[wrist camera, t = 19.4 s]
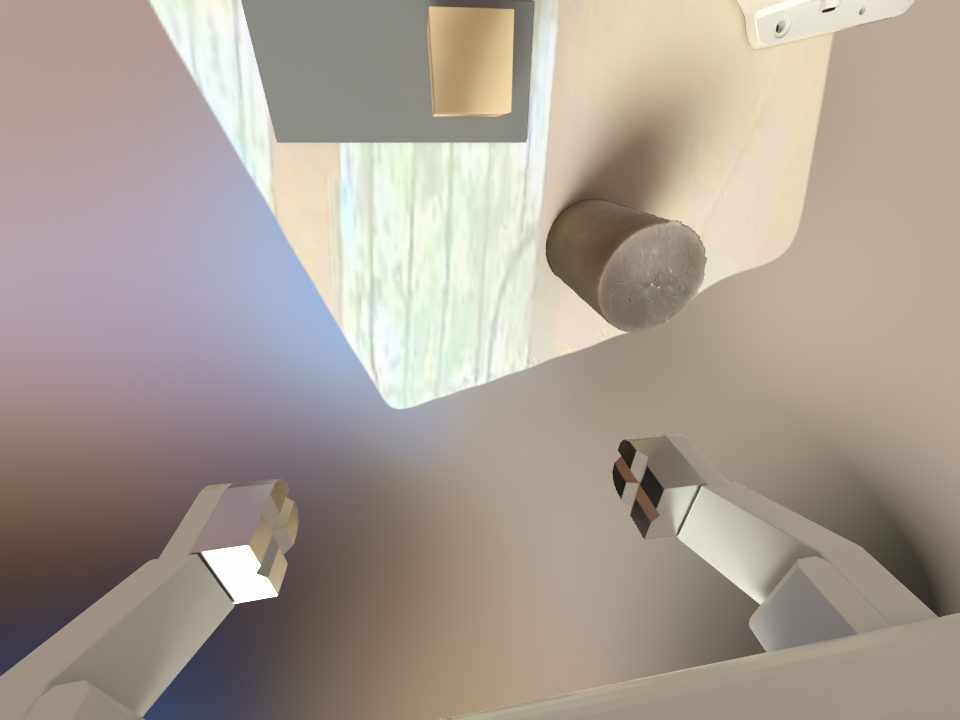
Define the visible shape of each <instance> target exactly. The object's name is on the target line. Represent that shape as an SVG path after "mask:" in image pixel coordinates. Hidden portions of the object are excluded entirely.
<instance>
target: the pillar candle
mask: <svg viewBox="0 0 960 720" xmlns="http://www.w3.org/2000/svg"><path fill="white" fill-rule="evenodd" d="M546 257H547V261H548V264H549V266H550V268H551V270H552V272H553V273H554V274H555V275H556V276H558V277H559V278H560V279H561V280H562V281H563V282H564V283H565V284H567V285H568V286H569V287H570V288H571V289H573V290H574V291H575V292H576V293H577V294H578V295H579V297H581V298H582V299H583V300H584V301H585V302H587V303H588V304H589V305H590V306H591V307H592V308H593V309H594V310H595V311H596V312H597V313H598V314H600V315H601V316H602V317H603V318H604V319H605V320H606V321H607V322H608V323H610V324H611V325H613V326H614V327H616V328H618V329H620V330H622V331H626V332H644V331H649V330H652V329H655V328H658V327H660V326H662V325H664V324H665V323H667V322H668V321H670V320H672V319H673V318H674V317H676V316H677V315H678V314H680V312H682V311H683V310H684V309H685V307H686V306H687V305H688V304H689V303H690V301H691V300H692V299H693V298H694V297H696V295H697V293H698V289H699V288H700V287H701V285H702V282H703V276H704V275H705V274H704V269H705V263H706V259H707V258H705V248H704V246H703V244H702V242H701V240H700V237H699V236H698V235H697V234H696V233H695V231H693V230H692V229H691V228H690V227H688V226H686V225H683V224H682V222H679V221H670V220H667V219H664V218H660V217H656V216H655V215H651V214H648V213H645V212H641V211H637V210H635V209H631V208H628V207H625V206H621V205H618V204H614V203H612V202H608V201H604V200H595V199H588V200H584V201H580V202H578V203H576V204H574V205H572V206H570V207H569V208H568V209H566V210H565V211H564V212H563V213H562V214H561V215H560V216H559V218H558V219H557V220H556V221H555V223H554V224H553V226H552V227H551V230H550V232H549V234H548V238H547V242H546Z"/></svg>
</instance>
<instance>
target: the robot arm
mask: <svg viewBox="0 0 960 720" xmlns="http://www.w3.org/2000/svg"><path fill="white" fill-rule="evenodd" d="M736 1H737V2H738V4H739V5H740V7H741V9H742V11H743V13H744V15H745V23H746V30H747V36H748V40H749V43H750V45H751V46H752V47H753V48H754V49H761V48H766V47H770V46H775V45H779V44H783V43H788V42H792V41H796V40H801V39H805V38H809V37H814V36H818V35H822V34H827V33H831V32H835V31H839V30H844V29H848V28H852V27H856V26H861V25H866V24H869V23H874V22H878V21H882V20H887V19H889V18H892V17H895V16H897V15H900V14H902V13H903V12H905V11H906V10H907V9H908V8H909V7H910V6H911V4H912V3H913V2H914V1H915V0H736ZM777 24H778V26H779V27H778V31H777V32H776V27H777ZM618 452H619V453H620V455H621V457H620V458H619V459H618V460H617V461H616V462H615V463H614V466H613V471H612V474H613V482H614V486H615V488H616V491H617V493H618V495H619V496H620V498H621V500H623V501H624V502H625V503H627V504H628V505H630V506H631V513H630V516H631V517H632V519H633V521H634V523H635V525H636V526H637V528H638V530H639V531H640V533H641V535H642V537H643V538H644V540H647V539H655V538H663V537H671V536H678V537H677V538H678V539H680V540H681V541H682V542H683V543H685V544H686V545H687V546H688V547H690V548H691V549H692V550H693V551H695V552H696V553H697V554H698V555H699V556H701V557H702V558H703V559H704V560H706V561H707V562H708V563H710V564H711V565H712V566H713V567H714V568H716V569H717V570H718V571H720V572H721V573H722V574H723V575H724V576H726V577H727V578H728V579H729V580H731V581H732V582H733V583H734V584H736V585H737V586H738V587H739V588H741V589H742V590H743V591H744V592H746V593H747V594H748V595H749V596H751V597H752V598H753V599H754V600H755V601H757V602H758V603H759V604H760V605H761V606H760V607H759V608H758V609H757V610H756V612H755V613H754V614H753V615H752V617H751V618H750V622H749V627H750V628H751V630H752V631H753V633H754V634H755V635H756V637H757V639H758V640H759V641H760V643H761V644H762V646H763V647H764V649H765V650H766V652H767V653H762V654H757V655H752V656H747V657H742V658H738V659H733V660H728V661H724V662H718V663H713V664H708V665H703V666H699V667H694V668H689V669H684V670H679V671H674V672H669V673H664V674H659V675H655V676H650V677H645V678H640V679H635V680H631V681H625V682H620V683H615V684H611V685H606V686H601V687H596V688H591V689H586V690H581V691H576V692H571V693H567V694H562V695H557V696H552V697H547V698H542V699H537V700H532V701H528V702H523V703H518V704H513V705H508V706H503V707H498V708H493V709H488V710H484V711H479V712H474V713H469V714H464V715H459V716H454V717H449V718H445V719H440V720H960V613H958V614H953V615H948V616H943V617H938V616H936V615H935V614H934V613H933V612H932V611H931V610H930V609H929V608H928V607H927V606H925V605H924V604H923V603H922V602H921V601H920V600H919V599H918V598H917V597H916V596H914V595H913V594H912V593H911V592H910V591H909V590H908V589H907V588H906V587H905V586H904V585H902V584H901V583H900V582H899V581H898V580H897V579H896V578H895V577H894V576H892V575H891V574H890V573H889V572H888V571H887V570H886V569H885V568H884V567H883V566H882V565H881V564H879V563H878V562H877V561H876V560H875V559H874V558H873V557H872V556H871V555H870V554H868V553H867V552H866V551H865V550H864V549H863V548H862V547H860V546H858V545H856V544H855V543H852V542H851V541H849V540H847V539H845V538H843V537H841V536H839V535H837V534H835V533H833V532H831V531H829V530H827V529H826V528H824V527H821V526H820V525H818V524H816V523H814V522H812V521H810V520H808V519H806V518H804V517H802V516H800V515H798V514H796V513H794V512H793V511H791V510H789V509H786V508H785V507H783V506H781V505H779V504H777V503H775V502H773V501H771V500H769V499H767V498H765V497H763V496H762V495H760V494H758V493H756V492H754V491H752V490H750V489H748V488H746V487H744V486H742V485H740V484H738V483H736V482H734V481H733V482H728V481H727V480H726V479H725V478H724V477H723V476H722V475H721V473H720V472H719V471H718V470H717V469H716V468H715V467H714V466H713V465H712V464H711V463H710V462H709V460H708V459H707V458H706V457H705V456H704V455H703V454H702V453H701V452H700V451H699V450H698V449H697V447H696V446H694V444H693V443H692V442H691V441H690V440H689V439H688V438H687V437H686V436H685V435H683V434H682V433H671V434H662V435H654V436H645V437H637V438H629V439H624V440H622V441H621V443H620V445H619V448H618ZM288 490H289V489H288V486H287V484H286V482H285V480H284V479H273V480H262V481H251V482H239V483H232V484H222V485H211V486H207V487H206V488H205V489H203V490H202V491H201V492H200V493H199V495H198V496H197V498H196V500H195V501H194V503H193V505H192V506H191V508H190V509H189V511H188V512H187V514H186V516H185V517H184V519H183V521H182V522H181V524H180V525H179V527H178V529H177V530H176V532H175V533H174V535H173V537H172V538H171V539H170V541H169V543H168V544H167V546H166V547H165V549H164V551H163V552H162V554H161V556H160V557H159V559H155V560H150V561H148V562H147V563H146V564H144V565H143V566H142V567H141V568H139V569H138V570H137V571H136V572H134V573H133V574H132V575H130V576H129V577H128V578H127V579H125V580H124V581H123V582H121V583H120V584H119V585H118V586H116V587H115V588H114V589H113V590H111V591H110V592H109V593H107V594H106V595H105V596H104V597H102V598H101V599H100V600H98V601H97V602H96V603H94V604H93V605H92V606H91V607H89V608H88V609H87V610H85V611H84V612H83V613H82V614H80V615H79V616H78V617H77V618H75V619H74V620H73V621H71V622H70V623H69V624H68V625H66V626H65V627H64V628H62V629H61V630H60V631H58V632H57V633H56V634H55V635H53V636H52V637H51V638H49V639H48V640H47V641H46V642H44V643H43V644H42V645H41V646H39V647H38V648H37V649H35V650H34V651H33V652H32V653H30V654H29V655H28V656H27V657H25V658H24V659H23V660H21V661H20V662H19V663H17V664H16V665H15V666H14V667H12V668H11V669H10V670H8V671H7V672H6V673H5V674H3V675H2V676H1V677H0V720H145V719H143V718H142V717H143V715H144V714H145V713H146V712H147V710H148V709H149V708H150V707H151V706H152V705H153V703H154V702H155V701H156V700H157V699H158V697H159V696H160V695H161V694H162V693H163V691H164V690H165V689H166V688H167V686H168V685H169V684H170V683H171V682H172V681H173V679H174V678H175V677H176V676H177V675H178V673H179V672H180V671H181V670H182V669H183V667H184V666H185V665H186V664H187V663H188V661H189V660H190V659H191V658H192V656H193V655H194V654H195V653H196V652H197V651H198V649H199V648H200V647H201V646H202V645H203V643H204V642H205V641H206V640H207V639H208V637H209V636H210V635H211V634H212V632H213V631H214V630H215V629H216V628H217V626H218V625H219V624H220V623H221V622H222V621H223V619H224V618H225V617H226V616H227V614H228V613H229V612H230V611H231V610H232V608H233V607H234V604H235V603H240V602H245V601H251V600H257V599H262V598H268V597H273V596H278V593H279V590H280V586H281V584H282V580H283V577H284V574H285V571H286V568H287V562H286V560H285V558H284V556H283V555H284V554H285V553H286V552H287V551H288V550H289V549H290V548H291V546H292V545H293V544H294V541H295V538H296V534H297V529H298V512H297V508H296V505H295V503H294V502H293V501H292V500H290V499H288V498H286V495H287V493H288Z"/></svg>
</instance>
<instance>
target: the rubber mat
mask: <svg viewBox="0 0 960 720" xmlns="http://www.w3.org/2000/svg"><path fill="white" fill-rule="evenodd" d="M241 1H242V5H243V9H244V13H245V17H246V21H247V25H248V29H249V33H250V37H251V41H252V45H253V49H254V53H255V57H256V61H257V64H258V68H259V72H260V76H261V80H262V84H263V88H264V92H265V96H266V100H267V104H268V108H269V112H270V116H271V120H272V124H273V128H274V132H275V136H276V140H277V142H526V138H527V121H528V103H529V86H530V68H531V51H532V33H533V16H534V2H528V1H508V0H241ZM429 6H433V7H464V8H494V9H514V34H513V69H512V103H511V112H510V113H507V114H504V115H501V116H498V117H433V112H432V97H431V82H430V67H429V52H428V36H427V24H428V12H429Z"/></svg>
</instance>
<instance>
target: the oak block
mask: <svg viewBox="0 0 960 720" xmlns="http://www.w3.org/2000/svg"><path fill="white" fill-rule="evenodd" d="M513 34H514V9H494V8H464V7H433V6H429V12H428V24H427V36H428V52H429V67H430V82H431V97H432V112H433V117H498V116H501V115H504V114H507V113H510V112H511V103H512V69H513Z"/></svg>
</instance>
